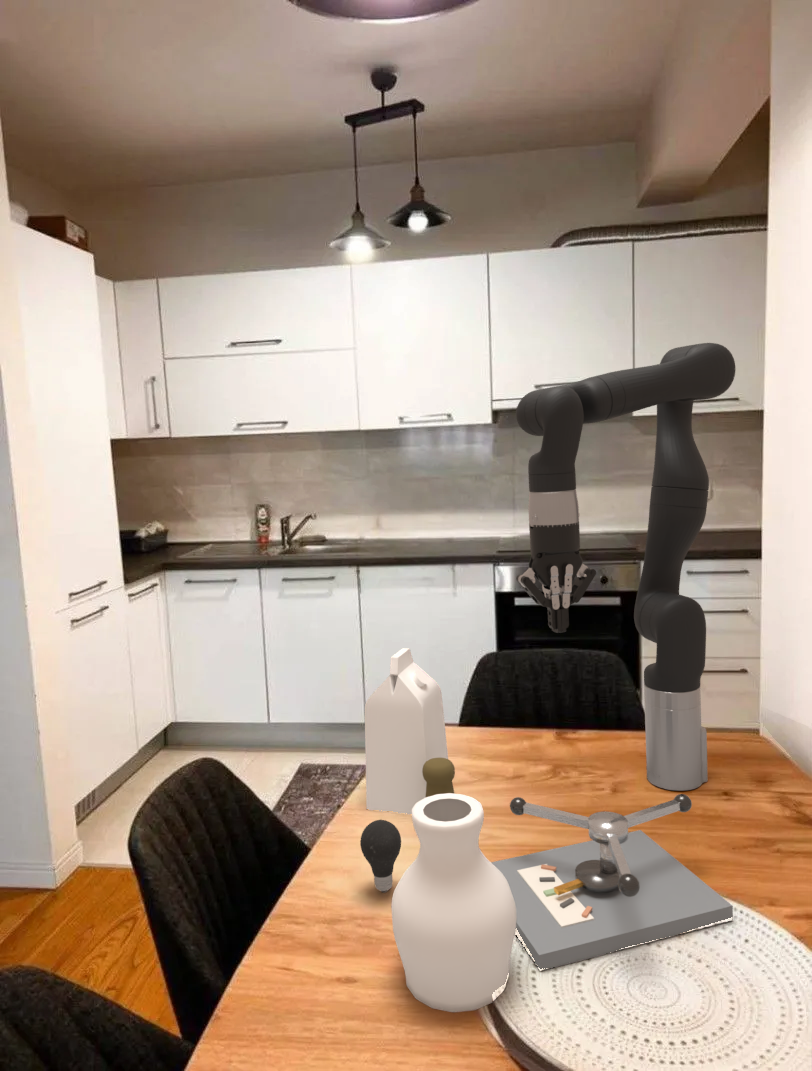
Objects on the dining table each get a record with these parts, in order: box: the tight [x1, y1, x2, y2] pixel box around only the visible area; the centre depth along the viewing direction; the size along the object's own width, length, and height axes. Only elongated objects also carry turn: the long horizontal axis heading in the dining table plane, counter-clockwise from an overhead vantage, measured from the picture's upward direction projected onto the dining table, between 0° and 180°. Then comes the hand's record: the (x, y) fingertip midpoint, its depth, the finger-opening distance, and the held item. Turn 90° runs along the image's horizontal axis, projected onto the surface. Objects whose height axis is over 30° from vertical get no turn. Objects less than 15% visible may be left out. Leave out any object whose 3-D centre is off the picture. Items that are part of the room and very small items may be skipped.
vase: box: [391, 793, 517, 1013], centre depth 85 cm, size 14×14×20 cm
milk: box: [364, 647, 449, 815], centre depth 129 cm, size 12×12×26 cm
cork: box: [422, 758, 456, 797], centre depth 119 cm, size 6×6×11 cm
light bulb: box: [359, 819, 402, 894], centre depth 103 cm, size 6×6×10 cm
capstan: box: [509, 793, 693, 897], centre depth 99 cm, size 23×25×8 cm
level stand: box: [490, 829, 734, 969], centre depth 98 cm, size 26×20×2 cm
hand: (558, 631), depth 116 cm, fingers closed
